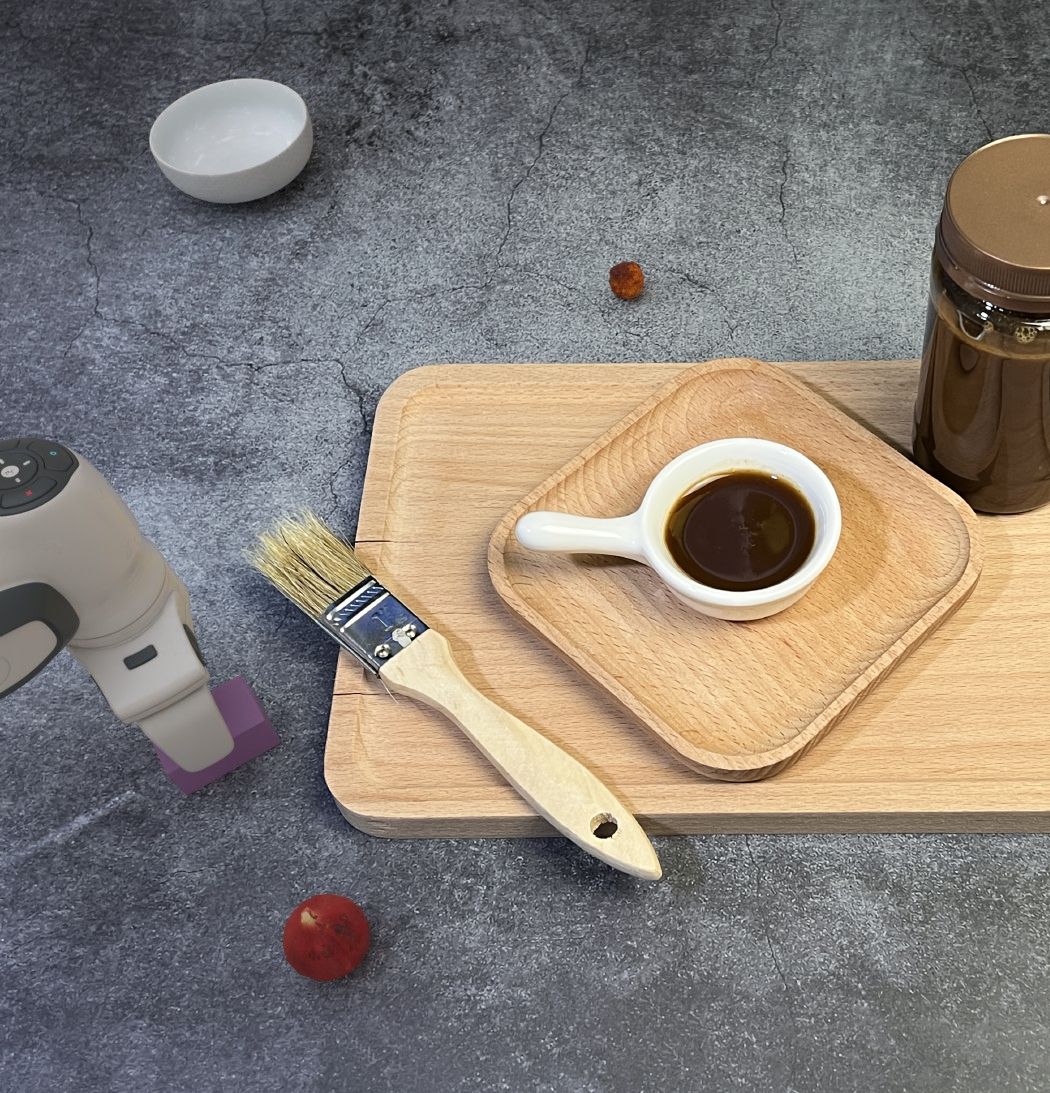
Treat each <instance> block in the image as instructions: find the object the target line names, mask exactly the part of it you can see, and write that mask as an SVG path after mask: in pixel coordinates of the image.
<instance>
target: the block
mask: <svg viewBox="0 0 1050 1093" xmlns="http://www.w3.org/2000/svg"><path fill="white" fill-rule="evenodd" d="M210 692H211V694H212V696H213V699H214V701H215V703H216V705H217V707H218V709H219V711H220V713H221V715H222V717H223V719H224V721H225V723H226V725H227V727H228V729H229V731H230V733H231V735H232V738H233V741H234V749H233V750H232V752H231V753H230V754H228V755H227V756H226V757H224V758H223V759H221V760H219V761H218V762H216V763H214V764H212V765H211V766H209V767H207V768H205V769H202V770H200V771H197V772H188V771H186V770H184V769H183V768H181V767H180V766H179V765H178V764H176V763H175V762H174V761H173V760H172V759H171V758H169V757H168V756H167V755H166V754H165V753H164V752H163V751H162V750H161V749H160V748H158V747H157V746H156V745H155V744H154V743H153V742H152V741H151V743H152V745H153V746H152V747H153V748H154V750H155V752H156V755H157V756H158V759H159V760H160V763H161V765H162V767H163V769H164V772H165V774H166V775H167V777H168V778H169V779H170V780H171V781H172V782H173V783H174V784H175V785H176V786H177V787H178V788H179V789H180V791H182V792H183V794H184V795H185V796H186V797H187V796H190V795H191V794H193V793H195V792H197V791H198V790H201V789H202V788H204V787H205V786H207V785H209V784H211V783H213V782H215V781H216V780H218V779H219V778H222V777H223V776H225V775H227V774H228V773H230V772H233V771H234V770H236V769H237V768H240V767H241V766H243V765H245V764H246V763H248V762H250V761H252V760H254V759H255V758H257V757H258V756H260V755H262V754H264V753H266V752H268V751H270V750H271V749H273V748H275V747H277V746H278V745H280V744H282V741H281V739H280V737H279V735H278V733H277V731H276V729H275V728H274V725H273V724H272V722H271V720H270V718H269V716H268V715H267V712H266V711H264V710H265V709H264V707H263V705H262V703H261V701H260V699H259V697H258V696H257V694H256V693H255V691H254V690H253V689H252V688H251V686H250V685H249V683H248V682H247V680H246V678H244V677H243V675H242V674H238V675H237V676H235V677H233V678H231V679H229V680H227V681H225V682H224V683H222V684H220V685H218V686H216V687H214V688H212V689H211V690H210Z"/></svg>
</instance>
